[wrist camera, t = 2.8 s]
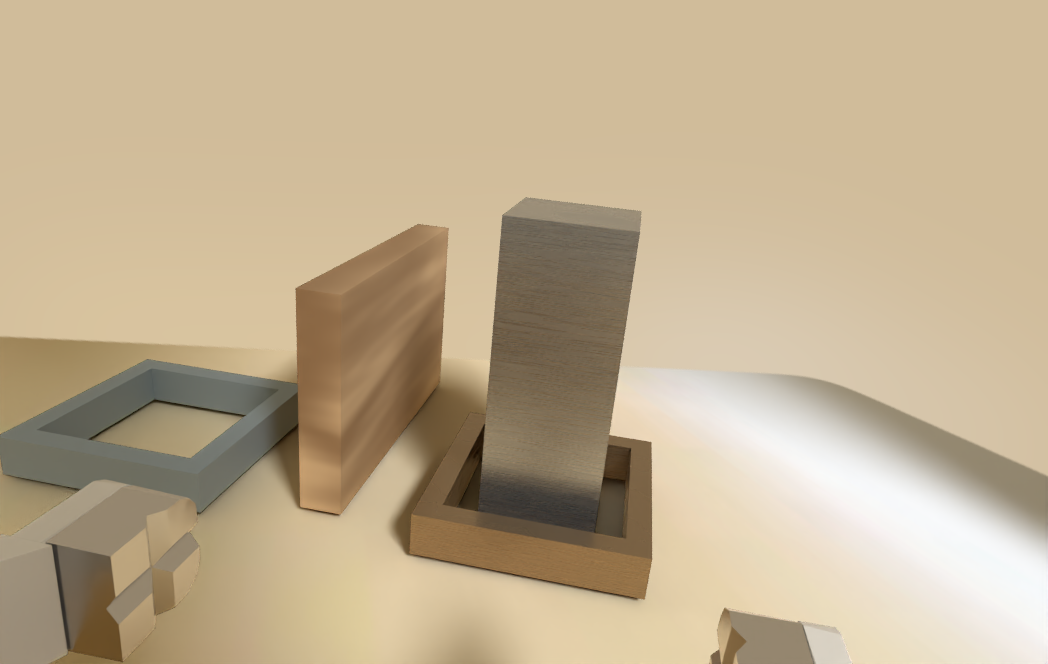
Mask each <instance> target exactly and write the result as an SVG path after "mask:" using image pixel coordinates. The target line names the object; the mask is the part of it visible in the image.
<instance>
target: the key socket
mask: <svg viewBox="0 0 1048 664" xmlns="http://www.w3.org/2000/svg"><path fill="white" fill-rule="evenodd" d="M485 421H486V415H483V414H477V413H471V412H470V414H469V415H468V417H467V419H466V420H465V422H464V424H463V426H462V427H461V429H460V431H459V433H458V434H457V436H456V438H455V439H454V441H453V443H452V445H451V446H450V448H449V450H448V452H447V453H446V455H445V457H444V458H443V460H442V462H441V464H440V465H439V467H438V469H437V471H436V472H435V474H434V476H433V477H432V479H431V481H430V483H429V484H428V486H427V488H426V490H425V491H424V493H423V495H422V496H421V498H420V500H419V502H418V503H417V505H416V507H415V508H414V510H413V512H412V514H411V529H410V552H409V554H415V555H420V556H425V557H430V558H435V559H440V560H445V561H450V562H455V563H461V564H466V565H471V566H476V567H481V568H486V569H491V570H496V571H501V572H507V573H512V574H517V575H522V576H527V577H532V578H537V579H542V580H548V581H553V582H558V583H563V584H568V585H573V586H578V587H583V588H588V589H594V590H599V591H604V592H609V593H614V594H619V595H624V596H629V597H634V598H640V599H645V594H646V589H647V584H648V578H649V573H650V568H651V562H652V459H651V442H647V441H641V440H635V439H629V438H623V437H617V436H611V435H609V440H608V446H607V453H606V460H605V466H604V473H603V477H606V478H612V479H618V480H624V481H626V486H625V502H624V518H623V534H622V538H620V537H614V536H609V535H604V534H598V533H593V532H587V531H582V530H576V529H571V528H566V527H560V526H555V525H549V524H544V523H538V522H533V521H528V520H522V519H517V518H511V517H506V516H500V515H495V514H490V513H484V512H479V511H473V510H468V509H462V508H457V507H458V505H459V503H460V501H461V498H462V496H463V494H464V492H465V490H466V488H467V486H468V484H469V482H470V480H471V477H472V475H473V473H474V471H475V469H476V467H477V465H478V463H479V461H480V458H481V456H483V446H484V433H485Z"/></svg>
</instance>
